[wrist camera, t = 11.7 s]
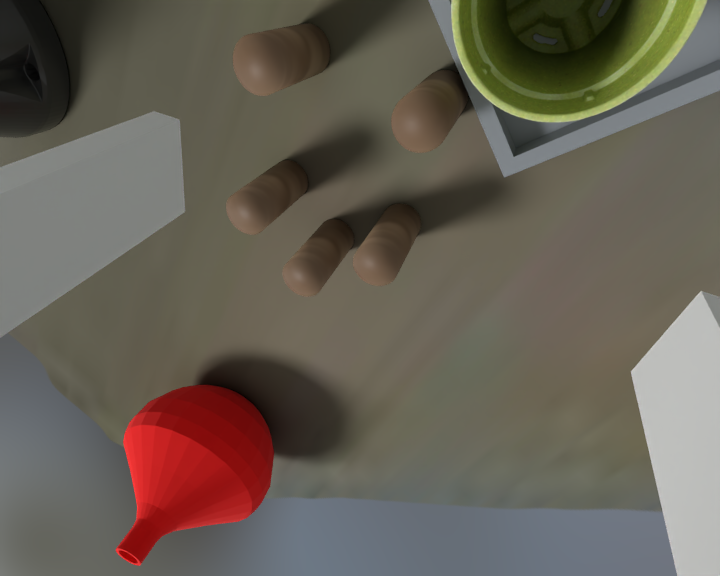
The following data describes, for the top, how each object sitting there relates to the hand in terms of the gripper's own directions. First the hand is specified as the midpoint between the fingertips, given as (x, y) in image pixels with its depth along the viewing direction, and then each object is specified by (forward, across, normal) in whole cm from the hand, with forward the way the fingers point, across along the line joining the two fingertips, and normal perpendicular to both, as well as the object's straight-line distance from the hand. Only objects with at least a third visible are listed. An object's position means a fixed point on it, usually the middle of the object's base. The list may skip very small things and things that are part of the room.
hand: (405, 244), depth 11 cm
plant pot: (+22, +2, +5) cm, 22 cm away
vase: (+22, -17, -47) cm, 55 cm away
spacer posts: (+22, -7, -6) cm, 24 cm away
